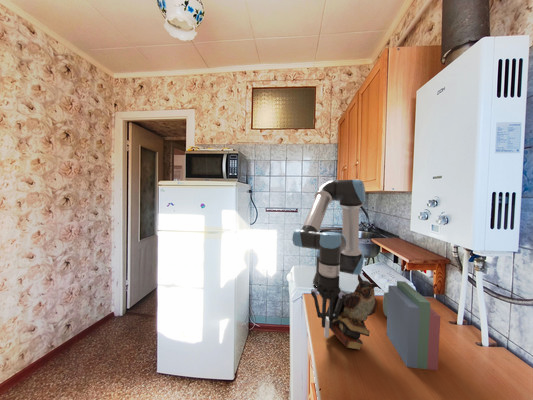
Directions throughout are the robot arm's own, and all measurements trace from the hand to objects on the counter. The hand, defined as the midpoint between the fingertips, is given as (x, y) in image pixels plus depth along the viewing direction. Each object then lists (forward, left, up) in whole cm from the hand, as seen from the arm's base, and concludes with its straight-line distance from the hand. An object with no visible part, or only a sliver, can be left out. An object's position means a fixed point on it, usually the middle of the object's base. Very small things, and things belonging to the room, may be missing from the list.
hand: (326, 335), depth 80 cm
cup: (-21, +32, -2) cm, 38 cm away
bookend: (0, +6, -1) cm, 6 cm away
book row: (0, +29, -2) cm, 29 cm away
